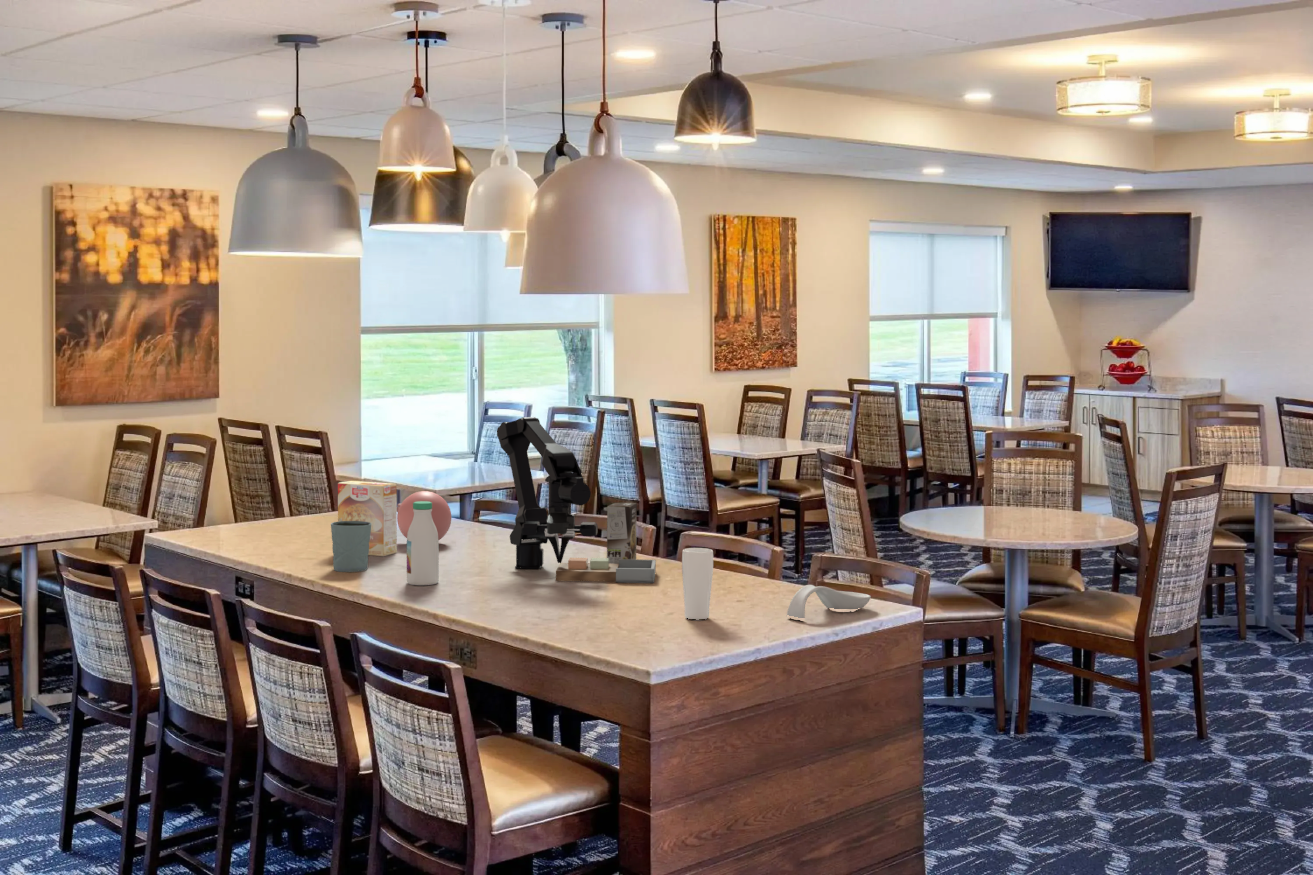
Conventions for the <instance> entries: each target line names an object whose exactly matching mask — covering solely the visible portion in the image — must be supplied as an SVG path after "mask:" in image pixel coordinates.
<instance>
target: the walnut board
mask: <svg viewBox="0 0 1313 875" xmlns="http://www.w3.org/2000/svg"><path fill="white" fill-rule="evenodd" d="M558 564H559V565H558V567H557V568H556V570H555V581H556V582H598V583H599V582H605V583H606V582H607V583H608V582H609V583H616V568H619V564H609V568H608V569H590V562H588V566H587V568H586V569H571V568H568V562H561V563H558Z"/></svg>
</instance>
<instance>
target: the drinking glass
mask: <svg viewBox="0 0 1313 875" xmlns="http://www.w3.org/2000/svg"><path fill="white" fill-rule="evenodd" d="M681 554H682V555H681V572H682V573H681V574H682V575H681V576H682V585H683V586H682V587H683V602H684V617H685V619H687V618H688V619H687V620H689V619H696V620H695V621H700V620H699V619H705V620H708V619H709V617H710V605H711V604H710V603H711V594H712V592H711V591H712V586H713V584H712V583H713V574H714V573H713V572H714V551H713V549H711V548H706V547H688V548H683V549H682V553H681ZM707 618H708V619H707Z"/></svg>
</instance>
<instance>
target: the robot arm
mask: <svg viewBox="0 0 1313 875" xmlns="http://www.w3.org/2000/svg"><path fill="white" fill-rule="evenodd" d="M496 436H497V440H498V441H499V444H500V448H501V449H502V450H503V451H504V452H505V454H506V455H507V456H508V459H509V464H510V468H511V473H512V478H513V483H514V490H515V494H516V499H517V504H518V511H517V513H516V516H515V518H514V521H515V522H514V523H515V526H514V527H513V529H512V531H511V533H510V534H509V540H510V542H509V543H510V545H514V546H516V547H515V549H516V550H515V562H516V563H515V565H514V569H530V570H531V569H537V570H539V569H541V568H542V566H543V565H544V556H545V555H544V551H545V550H544V548H543V547H542V544H548V541H549V542H550V544H551V546H552V548H553V552H554V555H555V557H556V562H557V563H558V564H560V563H563V559H564V557H565V556H564V555H565V553H566V549H567V546H568V544H569V542H570V540H574V538H575V537H576V533H580V534H581V535H582V536H583V537H596V536H597V535H598V533H599V532H598V524H597V522H595V521H593V522H591V521H588V522H587V521H582V522H581V523H580V524H578V525H577V524H576V517H575V516H576V515H575V514H573V513H572V505H577V506H584V505H586V504H587V503H588V502H589V500H590V499H591V490H590V487H589V486H588V484H587V483H585V482H584V480H585V479H584V477H583V475H582V469H581V468H580V466H579V463H578V460H577V458H576V456H575V454H574V453H573V451H571V449H569V448H567V447H565V446H563V445H560V444H558V443H557V442H556V441H555V440H554V439H553V437H552V436H551V435H550V433H549V432H548V431H547V430H546V429H545V428H544V427H543V426H542V424H541V422H540V419H539V418H538V417H536V416H526V417H520V418H518V419H515V420H512V421H504V422H501V423H500V425H499V426H497V428H496ZM531 445H532V446H533V448H535V450H536V451H537V452H538V453H539V455H540V456H541V458H542V460H541V465H542V467H543V469H544V470H545V472H546V473H547V475H548V476H547V477H546V478H545V480H544V481H545V482H546V483H548V511H547V509H546V507H541V506H540V505H539V504H538V500H537V499H538V498H537V494H536V489H535V485H534V481H533V475H532V470H531V464H530V460H529V454H528V450H529V447H530V446H531ZM559 535H562V536H561V540H559V539H560V538H559Z"/></svg>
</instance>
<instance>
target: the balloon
mask: <svg viewBox="0 0 1313 875" xmlns="http://www.w3.org/2000/svg"><path fill="white" fill-rule="evenodd" d="M418 501H428V502H432V511H431V516H432V519H433V522H434V524H435V526H436V529H437V532H438V542H439V541H440V540H441V539H442V538H445V536H446V535H447V533H448V531H449V530H450V527H451V524H452V511H451V508H450V506H449V504H448V502H447V500H445V498H443V497H442V496H441V495H440V494H438V493H435V492H432V491H427V490H421V491H420V490H419V491H416V492H414V493H412V494H410V495H408V496H407V497H405V499H404V500H402V502H401V503H398V504H397V526H398V528H399V530H400V533H401V534H402V535H403V536H404V538H405V539H407V534H408V530H409V527H410V525H411V523H412V520H413V517H414V511H413V503H414V502H418Z"/></svg>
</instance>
